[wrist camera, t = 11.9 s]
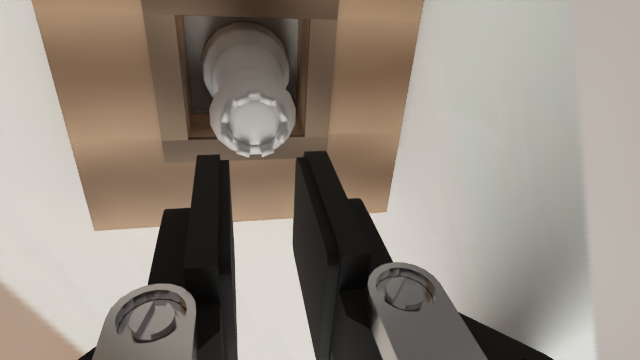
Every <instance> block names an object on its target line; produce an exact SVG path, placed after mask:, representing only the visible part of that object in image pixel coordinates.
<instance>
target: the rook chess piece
mask: <svg viewBox="0 0 640 360" xmlns="http://www.w3.org/2000/svg"><path fill="white" fill-rule="evenodd" d="M201 63H202V75H203V81H204V83H205V85H206V87H207V89H208V91H209V93H210V95H211V96H212V97H213V101H212V103H211V106H210V109H209V113H210V125H211V127H212V129H213V131H214V133H215V135H216V136H217V138H218V140H219V141H221V142H222V143H223V144H224V145H226V146H227V147H228V148H229V149H231V150H233V151H236V154H239V155H242V156H245V157H248V158H249V155H250V154H262V157H264V156H267V155H269V154H272V153H274V149H276V148H278V147H279V146H280V145H281V144H282V143H283V144H284V142H285V141H286V140H287V139H288V138H289V136H290V134H291V132H292V130H293V127H294V125H295V116H296V108H295V105H294V103H293V100H292V98H291V95H290V93H289V92H288V91H287V90H286V87H287V85H288V83H289V75H290V63H289V58H288V56H287V53H286V50H285V48H284V45H283V43H282V42H281V41H280V40H279V39H278V37H277V36H276V35H275V34H274V33H273V32H272V31H271V30H269V29H267V28H265V27H263V26H261V25H258V24H256V23H253V22H235V23H232V24H230V25H227V26H225V27H222V28H220V29H218V30H217V31H216V32H215V34H214V35H213V36H212V37H211V38H210V39H209V40H208V41H207V43H206V45H205V48H204V51H203V54H202V57H201Z"/></svg>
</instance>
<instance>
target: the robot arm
mask: <svg viewBox="0 0 640 360" xmlns="http://www.w3.org/2000/svg"><path fill="white" fill-rule="evenodd" d="M293 251H294V257H295V262H296V266H297V271H298V276H299V281H300V285H301V290H302V295H303V300H304V305H305V309H306V314H307V319H308V324H309V328H310V333H311V338H312V343H313V347H314V352H315V357H316V360H553V359H552V358H550V357H548V356H547V355H545V354H543V353H541V352H539V351H537V350H535V349H533V348H531V347H529V346H527V345H525V344H523V343H521V342H519V341H517V340H514V339H512V338H510V337H508V336H506V335H504V334H502V333H500V332H498V331H496V330H494V329H492V328H490V327H488V326H486V325H484V324H482V323H479V322H477V321H475V320H473V319H471V318H469V317H467V316H465V315H463V314H461V313H459V312H458V311H457V310H456V308H455V307H454V305H453V303H452V302H451V300H450V299H449V297H448V295H447V294H446V292H445V291H444V289H443V287H442V286H441V284H440V283H439V282H438V281H437V279H436V278H435V277H434V276H433V275H431V274H430V273H429V272H427V271H426V270H424V269H422V268H420V267H418V266H415V265H412V264H407V263H399V262H393V261H392V259H391V257H390V255H389V253H388V251H387V249H386V247H385V245H384V243H383V241H382V239H381V237H380V235H379V233H378V231H377V229H376V227H375V225H374V223H373V221H372V219H371V217H370V215H369V213H368V211H367V209H366V207H365V205H364V203H363V201H362V200H361V199H360V198H351V199H348V198H347V196H346V194H345V191H344V189H343V187H342V185H341V182H340V180H339V178H338V176H337V173H336V171H335V169H334V167H333V165H332V162H331V160H330V158H329V156H328V153H327V152H326V151H305V152H304V155H303V157H297V158H296V167H295V194H294V221H293ZM78 360H238V357H237V324H236V290H235V257H234V237H233V219H232V201H231V184H230V166H229V160H221V159H220V154H213V155H197V158H196V166H195V175H194V183H193V191H192V200H191V208H175V209H165V210H164V212H163V215H162V220H161V225H160V229H159V234H158V239H157V243H156V248H155V253H154V257H153V262H152V267H151V272H150V276H149V281H148V285H147V286H144V287H141V288H139V289H136V290H133V291H131V292H130V293H128V294H127V295H125V296H124V297H122V298H121V299H119V300H118V302H117V303H116V304H115V305H114V306H113V307H112V308H111V309H110V311H109V313H108V315H107V317H106V319H105V322H104V325H103V328H102V331H101V334H100V337H99V340H98V343H97V346H96V347H95V348H93V349H92V350H90V351H89V352H88V353H86V354H85V355H84V356H82V357H81V358H80V359H78Z"/></svg>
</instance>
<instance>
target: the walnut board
mask: <svg viewBox="0 0 640 360" xmlns="http://www.w3.org/2000/svg"><path fill="white" fill-rule="evenodd" d="M423 2H424V0H32V4H33V7H34V11H35V15H36V18H37V22H38V26H39V29H40V33H41V37H42V40H43V44H44V48H45V51H46V55H47V59H48V62H49V66H50V70H51V73H52V77H53V81H54V84H55V88H56V92H57V95H58V99H59V103H60V106H61V110H62V114H63V117H64V121H65V125H66V128H67V132H68V136H69V139H70V143H71V147H72V150H73V154H74V158H75V161H76V165H77V169H78V172H79V176H80V180H81V183H82V187H83V191H84V194H85V198H86V202H87V205H88V209H89V213H90V216H91V220H92V224H93V227H94V231H100V230H116V229H131V228H146V227H160V225H161V220H162V215H163V212H164V210H165V209H175V208H191V200H192V191H193V183H194V175H195V166H196V158H197V155H213V154H220V159H221V160H229V166H230V184H231V201H232V219H233V222H239V221H255V220H270V219H285V218H294V194H295V167H296V158H297V157H303V155H304V152H305V151H326V152H327V153H328V156H329V158H330V160H331V162H332V165H333V167H334V169H335V171H336V173H337V176H338V178H339V180H340V182H341V185H342V187H343V189H344V191H345V194H346V196H347V198H348V199H351V198H360V199H361V200H362V201H363V203H364V205H365V207H366V209H367V211H368V213H378V212H386V211H387V205H388V199H389V194H390V188H391V182H392V177H393V171H394V166H395V160H396V154H397V149H398V143H399V137H400V132H401V126H402V120H403V115H404V109H405V103H406V98H407V92H408V87H409V81H410V75H411V70H412V64H413V58H414V53H415V47H416V41H417V36H418V30H419V25H420V19H421V13H422V8H423ZM183 15H193V16H226V17H259V18H292V19H299V21H298V50H297V79H296V116H295V125H294V127H293V130H292V132H291V134H290V136H289V138H288V139H287V140H286V141H285V142H284V144H283V143H282V144H281V145H280V146H279V147H278V148H276V149H274V153H272V154H269V155H267V156H264V157H262V154H250V155H249V158H248V157H245V156H242V155H239V154H236V151H233V150H231V149H229V148H228V147H227V146H226V145H224V144H223V143H222V142H221V141H219V140H218V138H217V136H216V135H215V133H214V131H213V129H212V127H211V125H210V113H195V114H193V112H192V102H191V92H190V82H189V72H188V62H187V52H186V42H185V32H184V23H183Z"/></svg>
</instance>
